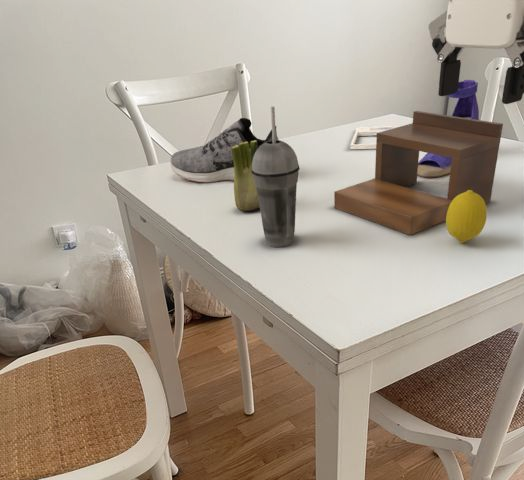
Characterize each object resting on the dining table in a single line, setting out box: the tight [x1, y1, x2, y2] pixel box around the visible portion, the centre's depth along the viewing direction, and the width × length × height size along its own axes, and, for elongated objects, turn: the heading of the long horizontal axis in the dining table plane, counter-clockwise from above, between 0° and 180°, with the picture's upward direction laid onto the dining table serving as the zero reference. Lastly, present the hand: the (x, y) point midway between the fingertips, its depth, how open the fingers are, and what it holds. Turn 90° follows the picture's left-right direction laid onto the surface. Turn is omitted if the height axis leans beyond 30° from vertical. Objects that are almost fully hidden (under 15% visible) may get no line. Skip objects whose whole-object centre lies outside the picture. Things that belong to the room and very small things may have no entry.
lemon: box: [445, 190, 488, 244], centre depth 79 cm, size 6×6×8 cm
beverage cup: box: [251, 106, 301, 248], centre depth 81 cm, size 7×7×20 cm
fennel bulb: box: [231, 140, 260, 212], centre depth 97 cm, size 6×5×12 cm
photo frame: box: [349, 125, 402, 150], centre depth 133 cm, size 15×1×18 cm
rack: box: [333, 110, 504, 236], centre depth 92 cm, size 20×18×13 cm
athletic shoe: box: [170, 117, 279, 184], centre depth 114 cm, size 10×27×12 cm, turn 71°
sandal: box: [417, 79, 480, 179], centre depth 109 cm, size 8×20×15 cm, turn 132°
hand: (478, 98), depth 70 cm, fingers open, 9 cm apart
